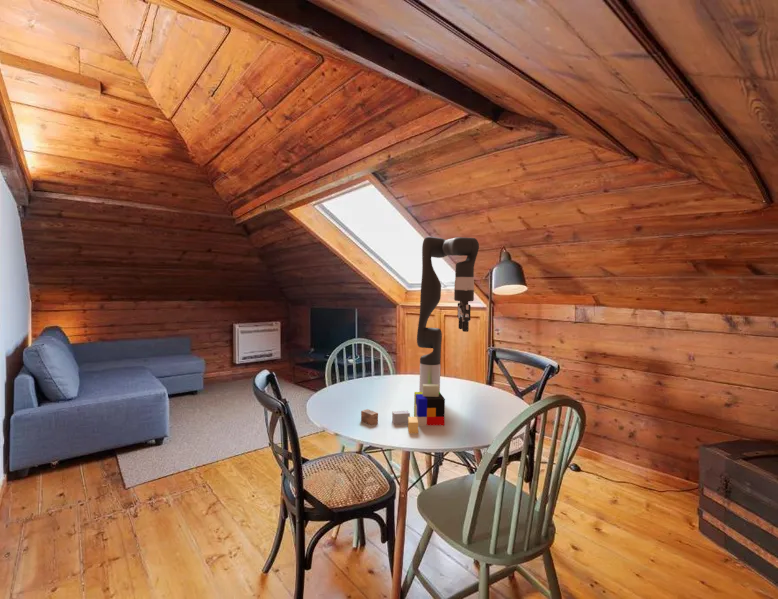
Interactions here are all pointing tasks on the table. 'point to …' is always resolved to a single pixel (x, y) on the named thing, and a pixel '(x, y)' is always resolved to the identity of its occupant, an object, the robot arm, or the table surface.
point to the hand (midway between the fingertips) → (463, 330)
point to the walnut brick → (369, 417)
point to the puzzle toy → (429, 409)
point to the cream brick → (430, 390)
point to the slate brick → (400, 417)
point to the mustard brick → (412, 425)
